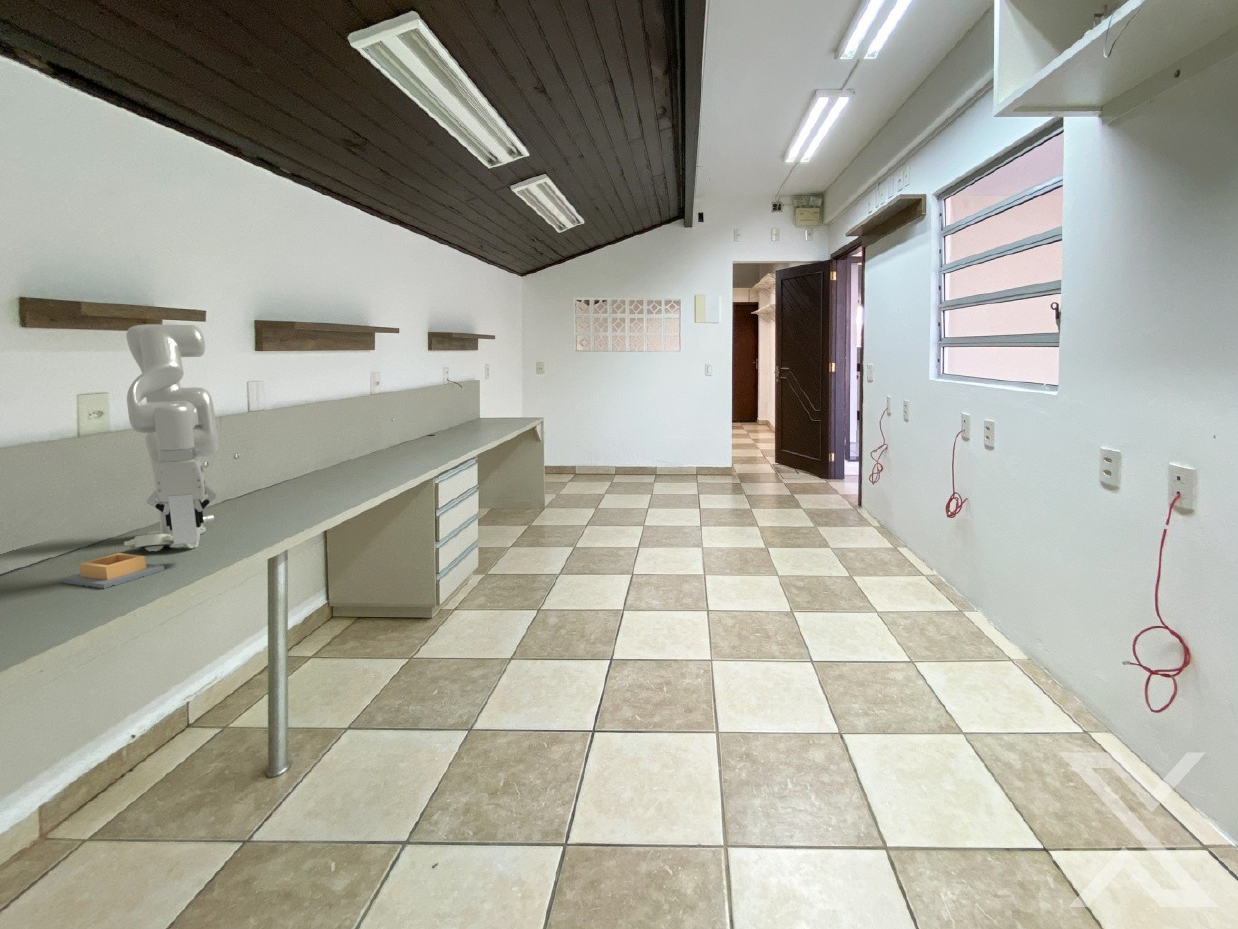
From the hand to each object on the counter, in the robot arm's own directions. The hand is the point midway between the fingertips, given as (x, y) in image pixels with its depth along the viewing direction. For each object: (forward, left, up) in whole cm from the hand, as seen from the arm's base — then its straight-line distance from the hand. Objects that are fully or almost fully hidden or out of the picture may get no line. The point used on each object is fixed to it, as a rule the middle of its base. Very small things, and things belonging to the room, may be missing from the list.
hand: (185, 526), depth 169 cm
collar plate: (+13, -7, -9) cm, 18 cm away
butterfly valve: (-6, -18, -10) cm, 21 cm away
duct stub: (0, 0, -4) cm, 4 cm away
